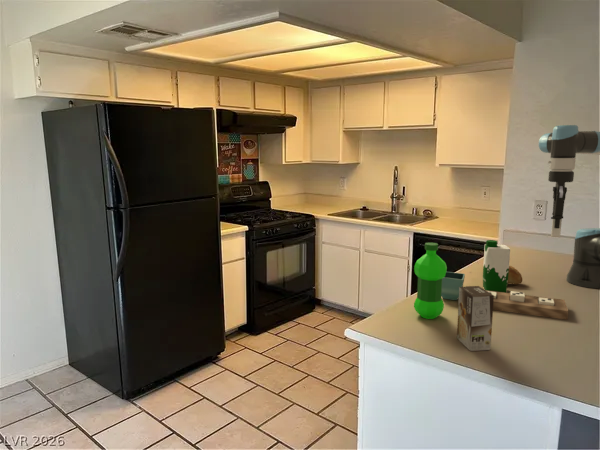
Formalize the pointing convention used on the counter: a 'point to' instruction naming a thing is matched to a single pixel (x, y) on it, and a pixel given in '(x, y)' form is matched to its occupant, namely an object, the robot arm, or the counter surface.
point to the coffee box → (475, 318)
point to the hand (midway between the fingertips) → (555, 236)
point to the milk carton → (495, 266)
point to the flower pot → (452, 285)
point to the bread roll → (514, 276)
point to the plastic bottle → (429, 283)
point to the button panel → (530, 306)
